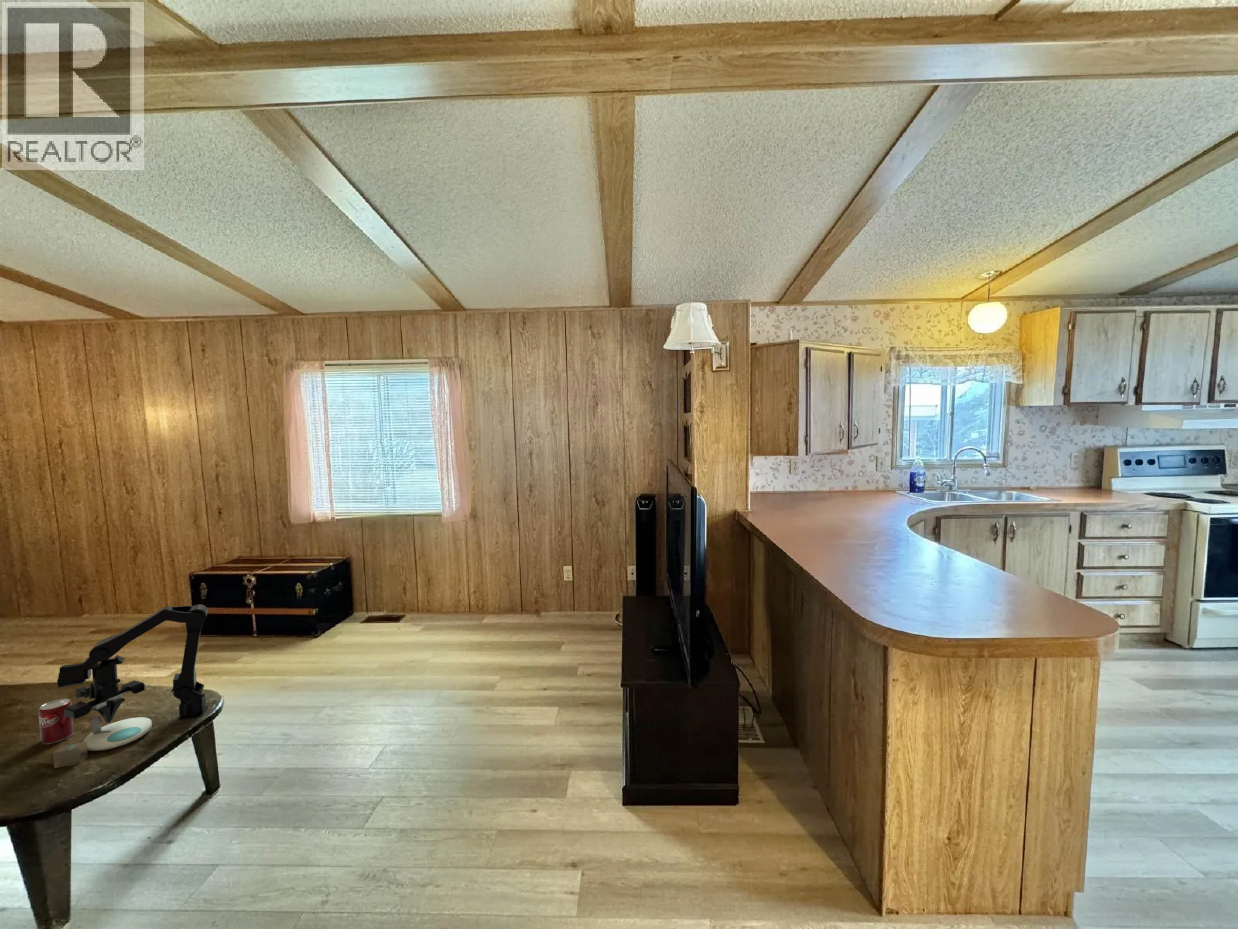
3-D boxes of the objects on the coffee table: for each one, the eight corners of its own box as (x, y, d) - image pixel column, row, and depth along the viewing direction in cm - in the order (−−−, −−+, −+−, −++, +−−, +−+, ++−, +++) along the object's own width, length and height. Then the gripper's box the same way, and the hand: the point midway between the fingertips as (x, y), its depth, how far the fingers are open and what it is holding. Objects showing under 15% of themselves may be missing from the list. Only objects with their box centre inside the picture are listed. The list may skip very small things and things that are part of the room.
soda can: (51, 746, 161) (48, 711, 160) (34, 743, 163) (31, 708, 162) (79, 733, 168) (77, 699, 167) (63, 730, 170) (60, 696, 169)
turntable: (129, 718, 175) (128, 700, 175) (163, 725, 172) (162, 707, 171) (70, 746, 160) (69, 727, 159) (106, 754, 156) (105, 734, 156)
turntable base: (153, 723, 174) (153, 721, 174) (133, 745, 162) (133, 743, 162) (90, 733, 168) (89, 731, 168) (63, 757, 156) (63, 755, 156)
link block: (87, 756, 157) (86, 741, 156) (80, 763, 153) (79, 748, 153) (62, 761, 154) (61, 745, 154) (54, 768, 151) (53, 752, 151)
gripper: (124, 662, 177) (126, 703, 179) (51, 688, 160) (55, 734, 161) (145, 667, 174) (147, 709, 175) (73, 694, 156) (77, 741, 158)
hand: (108, 722), depth 167 cm, fingers closed
